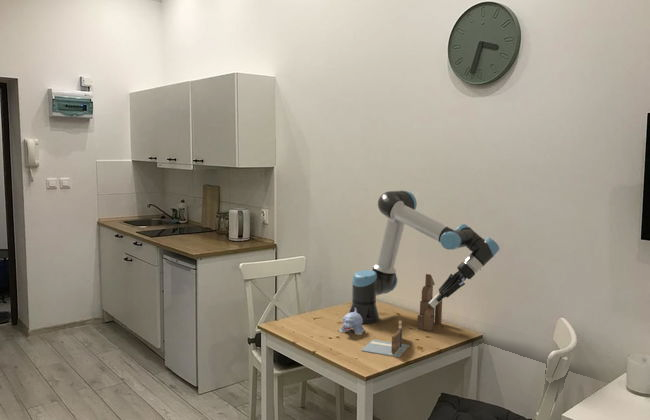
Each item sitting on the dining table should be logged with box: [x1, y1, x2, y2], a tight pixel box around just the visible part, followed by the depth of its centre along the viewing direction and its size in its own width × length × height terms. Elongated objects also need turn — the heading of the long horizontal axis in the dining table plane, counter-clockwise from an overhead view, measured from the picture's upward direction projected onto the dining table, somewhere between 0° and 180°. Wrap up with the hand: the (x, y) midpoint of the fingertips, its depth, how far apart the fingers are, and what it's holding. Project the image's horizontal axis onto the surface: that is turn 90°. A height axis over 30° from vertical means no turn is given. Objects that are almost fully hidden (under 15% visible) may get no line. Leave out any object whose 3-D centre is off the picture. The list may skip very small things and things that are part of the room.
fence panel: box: [398, 319, 403, 330], centre depth 232 cm, size 12×1×7 cm, turn 172°
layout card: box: [361, 338, 410, 358], centre depth 223 cm, size 16×15×1 cm
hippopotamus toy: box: [338, 308, 365, 336], centre depth 243 cm, size 11×15×10 cm
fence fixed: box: [391, 329, 403, 354], centre depth 220 cm, size 2×11×8 cm, turn 157°
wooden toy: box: [416, 273, 443, 332], centre depth 254 cm, size 16×7×25 cm, turn 147°
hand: (430, 305), depth 233 cm, fingers closed
